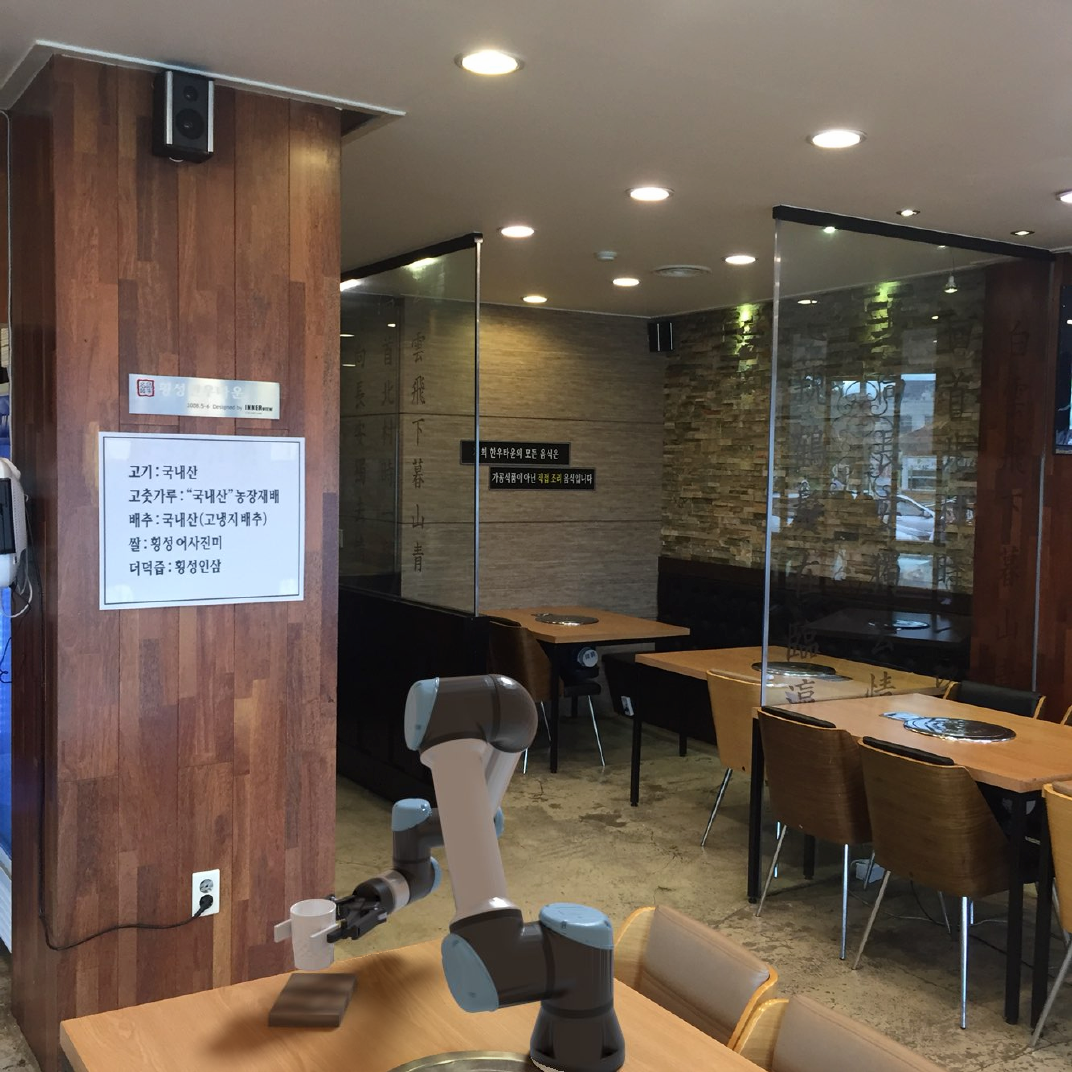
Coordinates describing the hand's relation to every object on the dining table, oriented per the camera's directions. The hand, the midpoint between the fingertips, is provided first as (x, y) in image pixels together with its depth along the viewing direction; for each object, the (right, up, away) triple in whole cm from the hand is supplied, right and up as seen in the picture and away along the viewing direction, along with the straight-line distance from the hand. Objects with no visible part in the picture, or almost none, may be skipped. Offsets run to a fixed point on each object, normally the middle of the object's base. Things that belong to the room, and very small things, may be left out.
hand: (293, 939), depth 188 cm
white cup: (+3, -6, +4) cm, 8 cm away
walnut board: (+3, -13, +4) cm, 14 cm away
